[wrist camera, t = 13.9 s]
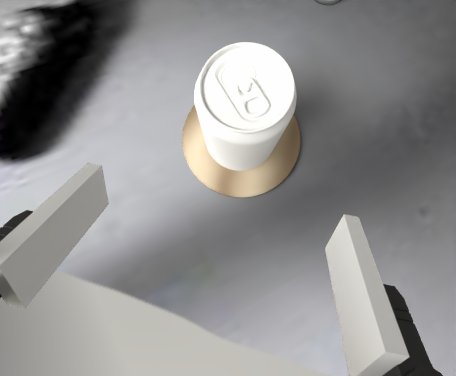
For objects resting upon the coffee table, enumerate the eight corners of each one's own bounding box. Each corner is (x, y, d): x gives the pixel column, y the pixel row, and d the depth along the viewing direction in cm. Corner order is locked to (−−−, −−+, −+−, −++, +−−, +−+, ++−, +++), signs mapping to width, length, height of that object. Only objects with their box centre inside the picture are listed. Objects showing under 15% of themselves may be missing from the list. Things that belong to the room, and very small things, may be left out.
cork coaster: (307, 96, 33) (308, 94, 32) (289, 207, 31) (290, 207, 30) (196, 76, 33) (196, 74, 33) (171, 185, 31) (170, 184, 31)
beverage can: (256, 96, 32) (272, 20, 20) (285, 155, 31) (320, 111, 19) (195, 122, 32) (174, 60, 20) (222, 183, 31) (218, 156, 19)
